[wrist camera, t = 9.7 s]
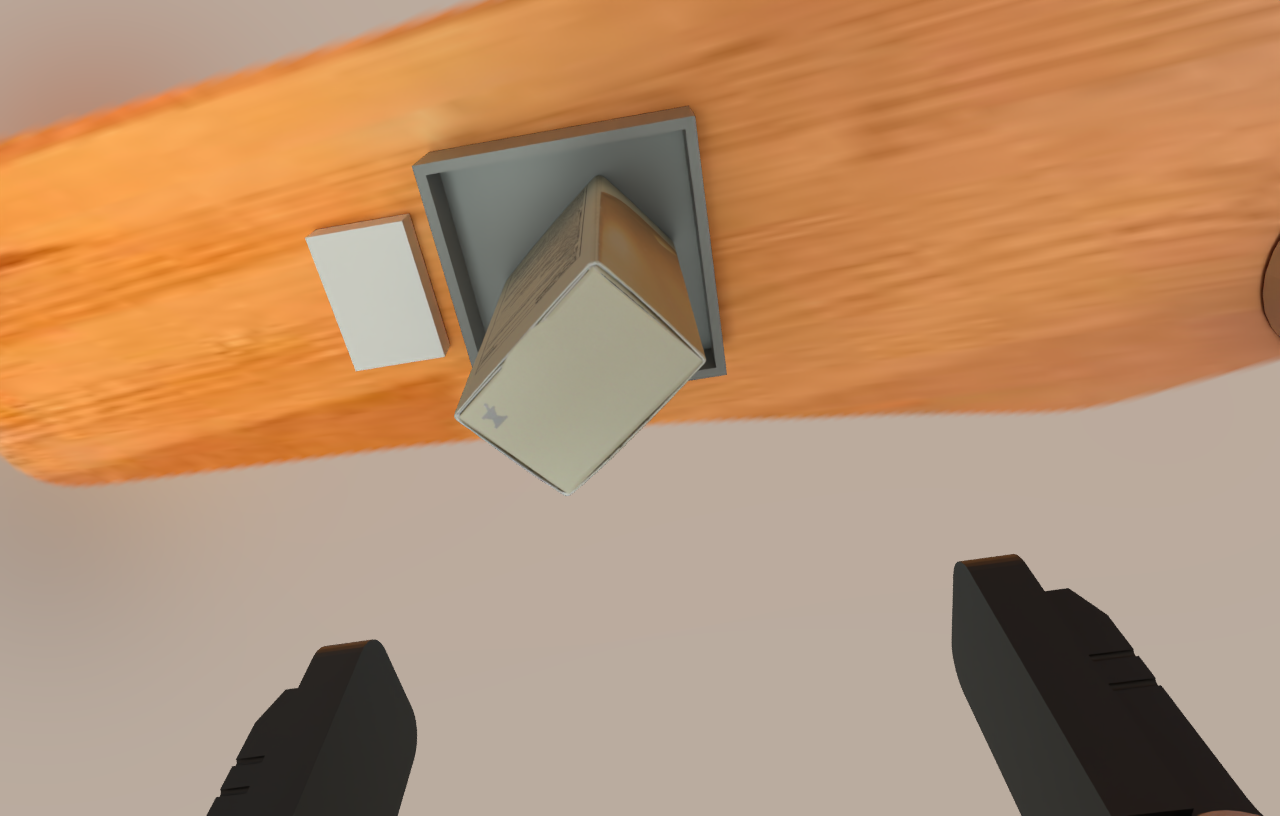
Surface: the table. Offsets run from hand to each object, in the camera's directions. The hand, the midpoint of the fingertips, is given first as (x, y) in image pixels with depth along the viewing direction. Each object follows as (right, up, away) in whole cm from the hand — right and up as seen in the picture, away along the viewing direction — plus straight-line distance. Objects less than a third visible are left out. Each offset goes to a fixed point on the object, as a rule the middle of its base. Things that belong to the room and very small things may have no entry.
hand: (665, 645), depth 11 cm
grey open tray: (-5, +9, +22) cm, 24 cm away
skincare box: (-2, +10, +21) cm, 23 cm away
